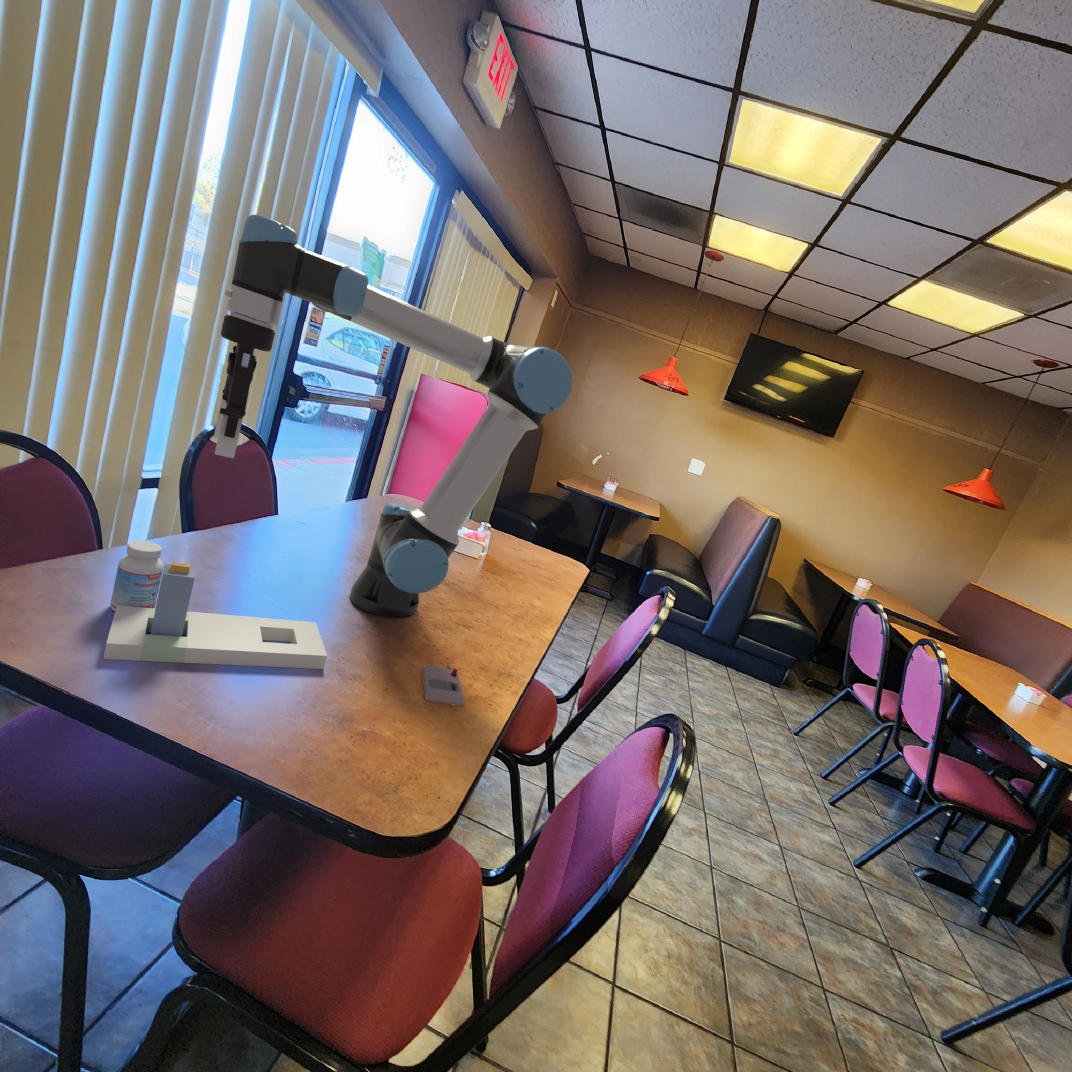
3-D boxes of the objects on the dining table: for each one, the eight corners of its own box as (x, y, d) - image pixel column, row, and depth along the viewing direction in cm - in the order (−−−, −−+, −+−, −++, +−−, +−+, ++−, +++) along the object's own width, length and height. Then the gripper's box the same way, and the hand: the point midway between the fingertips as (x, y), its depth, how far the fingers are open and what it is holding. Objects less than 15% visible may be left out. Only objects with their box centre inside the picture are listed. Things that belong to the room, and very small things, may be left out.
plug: (179, 636, 93) (196, 561, 90) (178, 649, 89) (195, 571, 87) (150, 634, 91) (166, 557, 88) (147, 647, 87) (164, 567, 85)
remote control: (425, 709, 97) (430, 693, 97) (420, 663, 112) (424, 649, 111) (463, 714, 99) (468, 699, 99) (453, 668, 114) (457, 655, 113)
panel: (312, 634, 107) (315, 622, 107) (323, 669, 97) (327, 655, 97) (114, 619, 91) (117, 605, 91) (103, 659, 81) (106, 643, 81)
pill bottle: (132, 621, 92) (145, 556, 90) (100, 607, 93) (112, 542, 91) (163, 610, 98) (176, 549, 96) (132, 597, 99) (144, 536, 97)
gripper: (223, 310, 102) (198, 426, 107) (227, 314, 82) (197, 458, 86) (269, 325, 106) (243, 437, 111) (284, 333, 86) (252, 470, 90)
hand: (223, 446), depth 98 cm, fingers open, 13 cm apart
